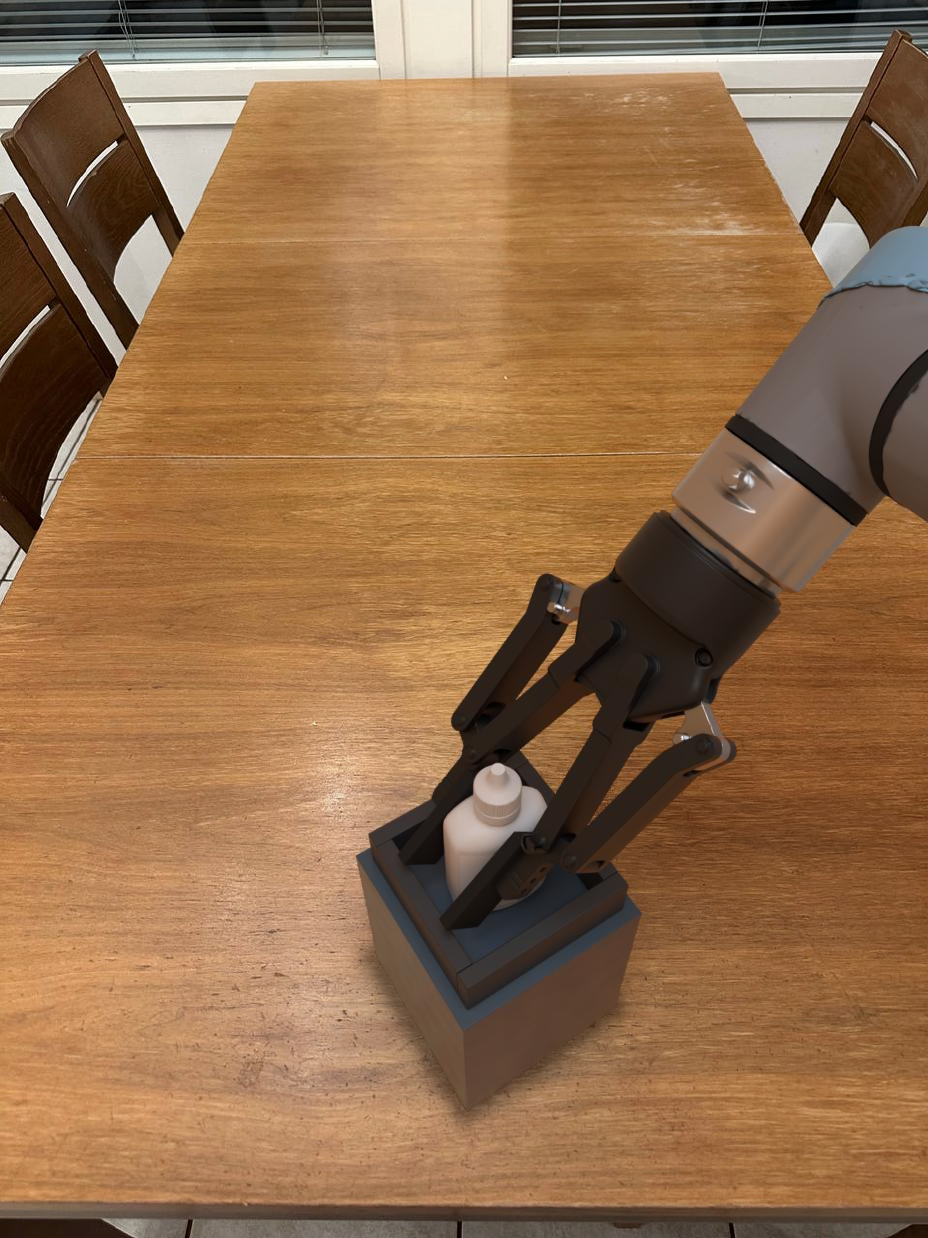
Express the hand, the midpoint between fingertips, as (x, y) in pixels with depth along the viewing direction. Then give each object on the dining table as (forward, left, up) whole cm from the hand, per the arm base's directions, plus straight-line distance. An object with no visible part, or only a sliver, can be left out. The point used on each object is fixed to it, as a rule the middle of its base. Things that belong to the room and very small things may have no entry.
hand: (437, 890), depth 51 cm
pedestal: (0, -4, -18) cm, 19 cm away
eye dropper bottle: (0, -4, -4) cm, 5 cm away
